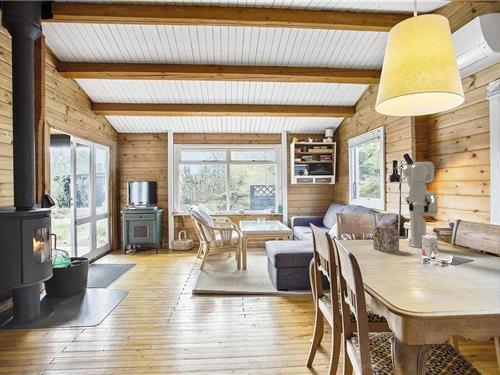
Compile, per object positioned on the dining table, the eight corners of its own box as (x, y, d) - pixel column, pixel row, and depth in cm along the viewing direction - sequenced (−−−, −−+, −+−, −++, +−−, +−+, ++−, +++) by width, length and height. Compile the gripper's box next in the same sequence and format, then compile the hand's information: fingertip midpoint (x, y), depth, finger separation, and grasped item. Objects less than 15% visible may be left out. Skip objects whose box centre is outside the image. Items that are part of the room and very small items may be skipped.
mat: (428, 259, 168) (428, 258, 168) (447, 255, 178) (447, 254, 178) (454, 265, 156) (454, 264, 156) (474, 260, 165) (474, 259, 165)
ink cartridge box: (421, 254, 182) (421, 230, 182) (429, 254, 182) (429, 230, 182) (429, 257, 173) (429, 233, 173) (438, 257, 173) (437, 232, 173)
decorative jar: (385, 247, 204) (385, 221, 204) (399, 250, 193) (399, 223, 194) (372, 249, 199) (372, 222, 199) (386, 252, 189) (386, 224, 189)
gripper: (401, 184, 191) (402, 210, 191) (428, 184, 175) (428, 212, 175) (409, 184, 194) (409, 210, 194) (435, 184, 179) (436, 212, 179)
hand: (418, 211), depth 185 cm, fingers open, 9 cm apart
